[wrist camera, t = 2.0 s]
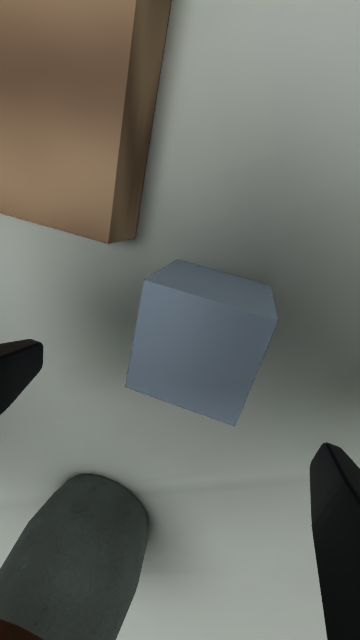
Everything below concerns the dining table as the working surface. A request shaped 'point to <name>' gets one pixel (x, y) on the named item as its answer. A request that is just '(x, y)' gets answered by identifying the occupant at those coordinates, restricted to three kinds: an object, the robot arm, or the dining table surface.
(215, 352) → the cube
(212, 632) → the dining table surface
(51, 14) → the base
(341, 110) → the dining table surface
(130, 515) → the grey bottle
